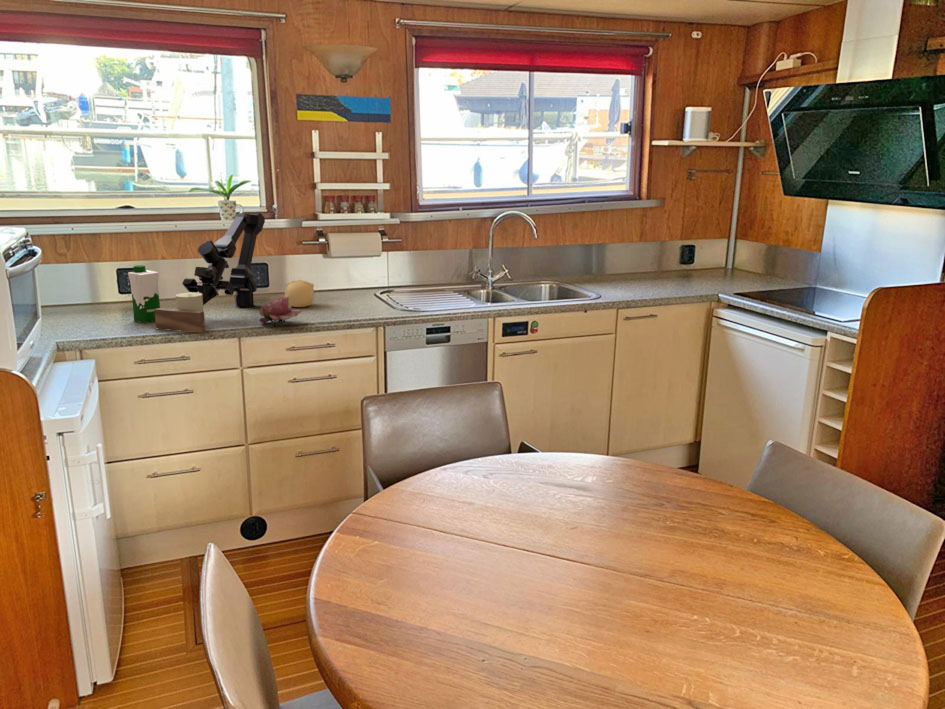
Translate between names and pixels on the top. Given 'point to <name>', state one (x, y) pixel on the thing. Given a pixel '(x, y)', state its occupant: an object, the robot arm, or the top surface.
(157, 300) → the milk carton
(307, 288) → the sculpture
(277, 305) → the flower
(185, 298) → the can
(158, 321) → the brown box
